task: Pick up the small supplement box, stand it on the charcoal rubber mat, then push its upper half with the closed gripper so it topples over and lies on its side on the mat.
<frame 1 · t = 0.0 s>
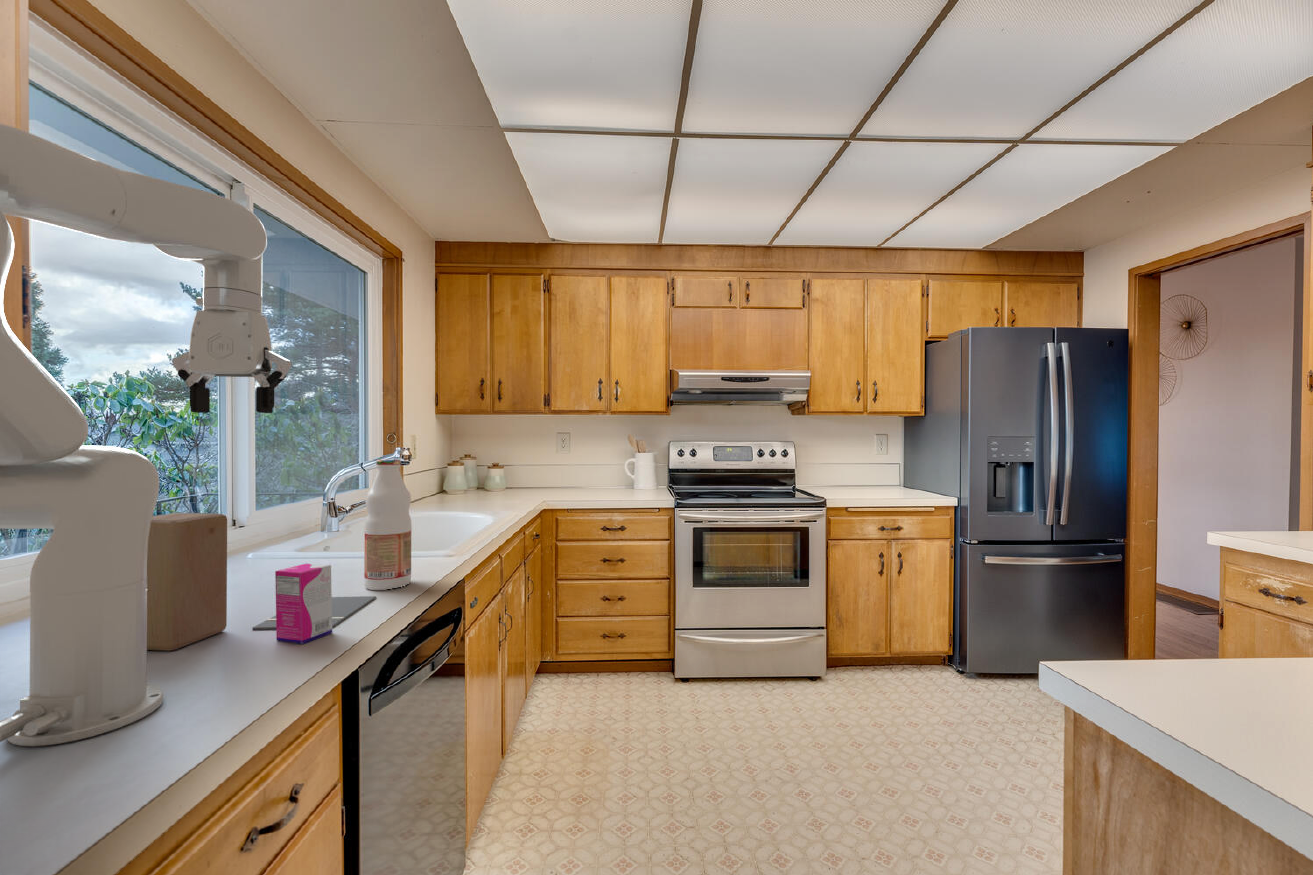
hand: (232, 412, 88), 37 cm above the countertop, tool pointing down, fingers open, 9 cm apart
fruit juice: (388, 586, 123), on the countertop
wooden block: (174, 641, 89), on the countertop
supplement box: (304, 637, 91), on the countertop
mat: (320, 612, 104), on the countertop
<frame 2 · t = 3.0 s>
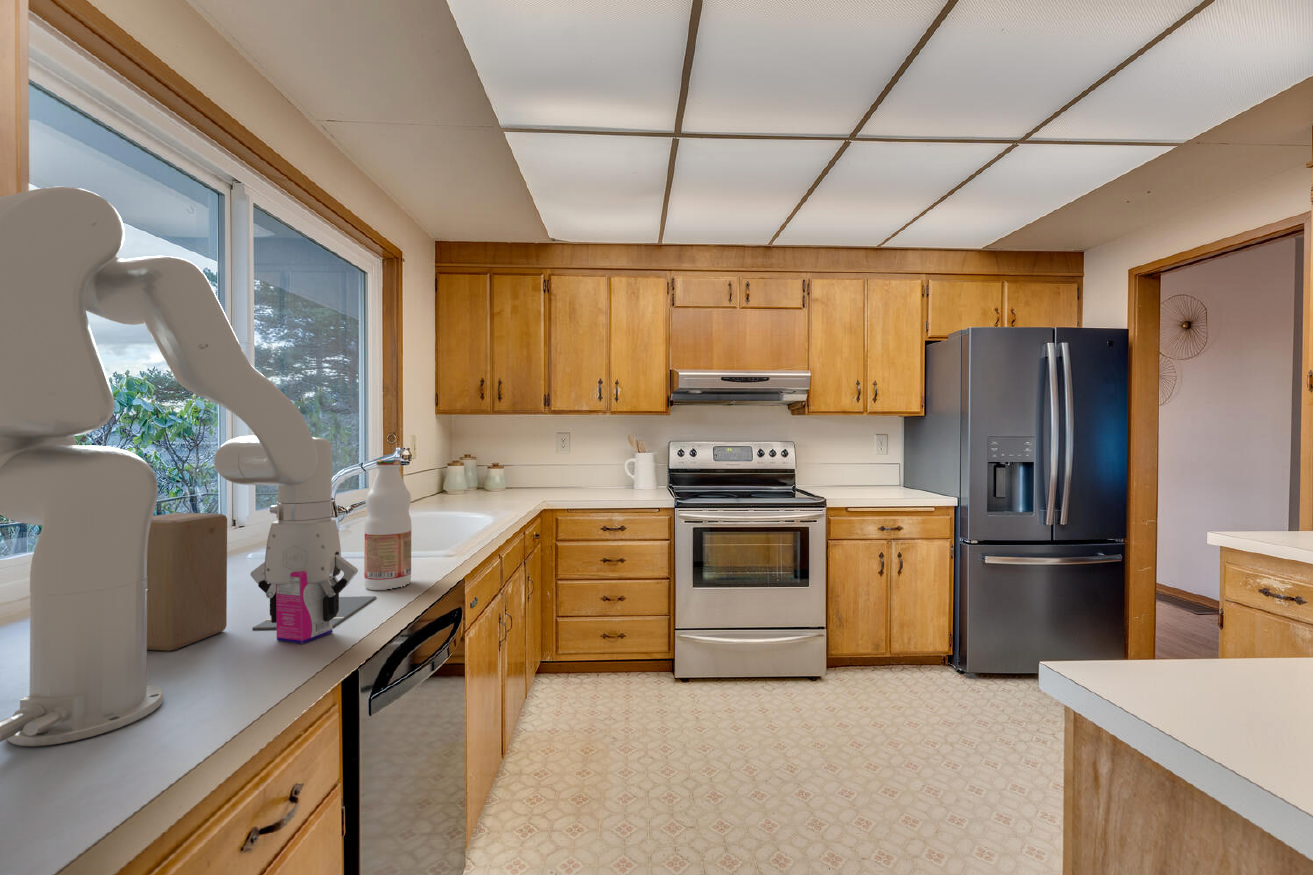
hand: (304, 618, 91), 3 cm above the countertop, tool pointing down, fingers closed on supplement box, 7 cm apart
supplement box: (304, 637, 91), on the countertop, touching gripper
everything else where it was.
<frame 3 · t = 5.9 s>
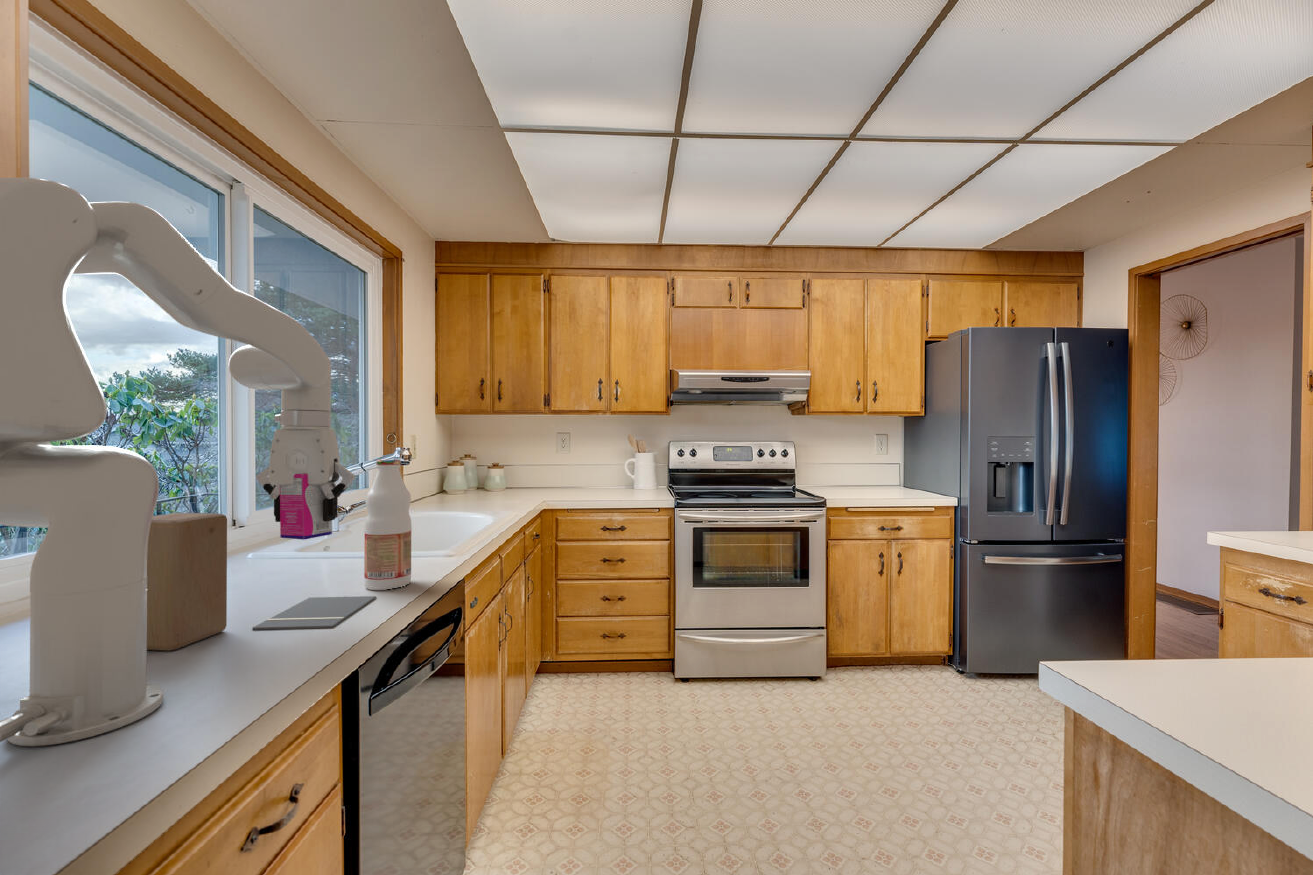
hand: (306, 519, 99), 18 cm above the countertop, tool pointing down, fingers closed on supplement box, 7 cm apart
supplement box: (306, 537, 99), point 15 cm above the countertop, touching gripper
everything else where it was.
when the fingers open (4 cm above the countertop, at t = 8.9 s): supplement box stays where it is, resting on mat.
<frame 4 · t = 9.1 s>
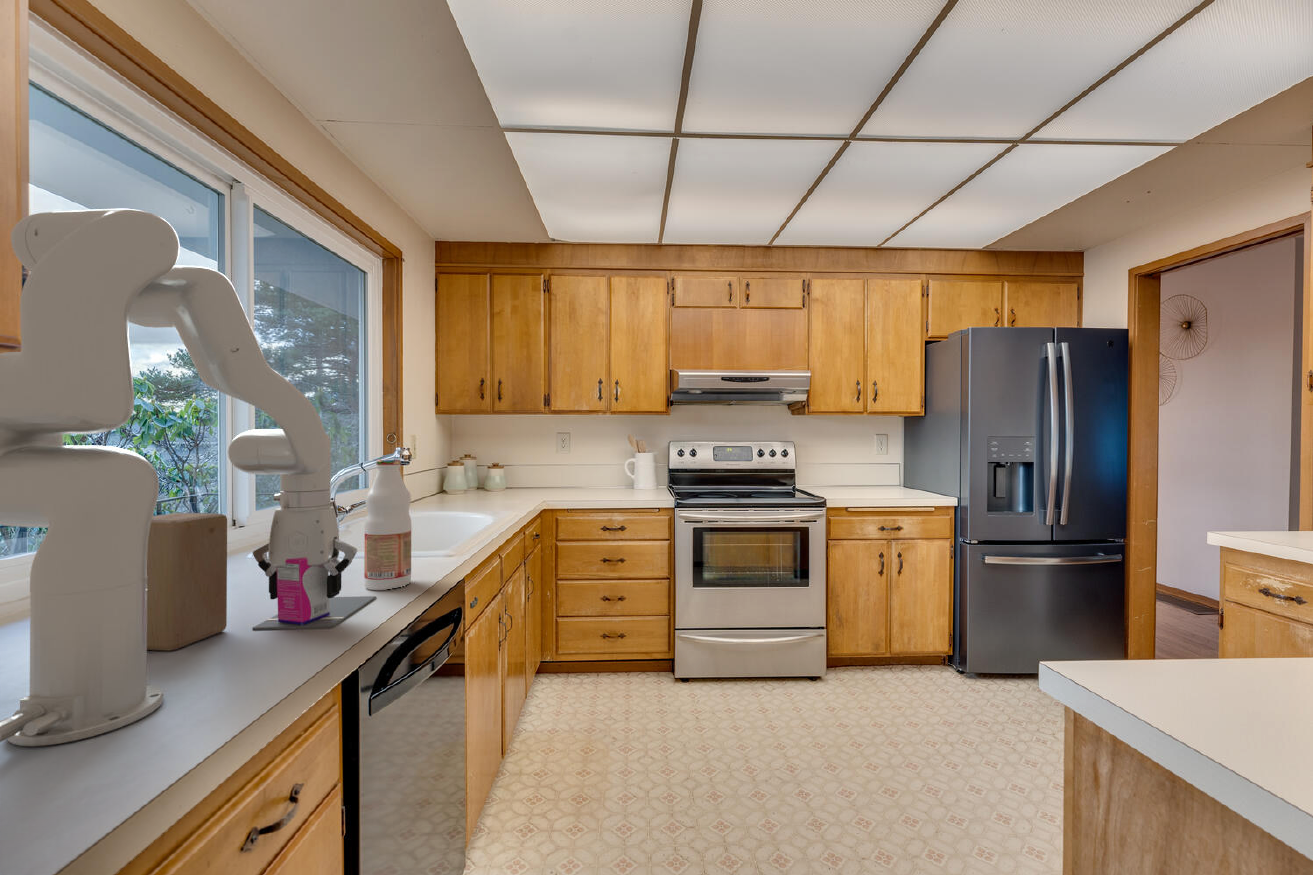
hand: (305, 596, 99), 4 cm above the countertop, tool pointing down, fingers open, 9 cm apart
supplement box: (303, 619, 98), resting on mat
everything else where it was.
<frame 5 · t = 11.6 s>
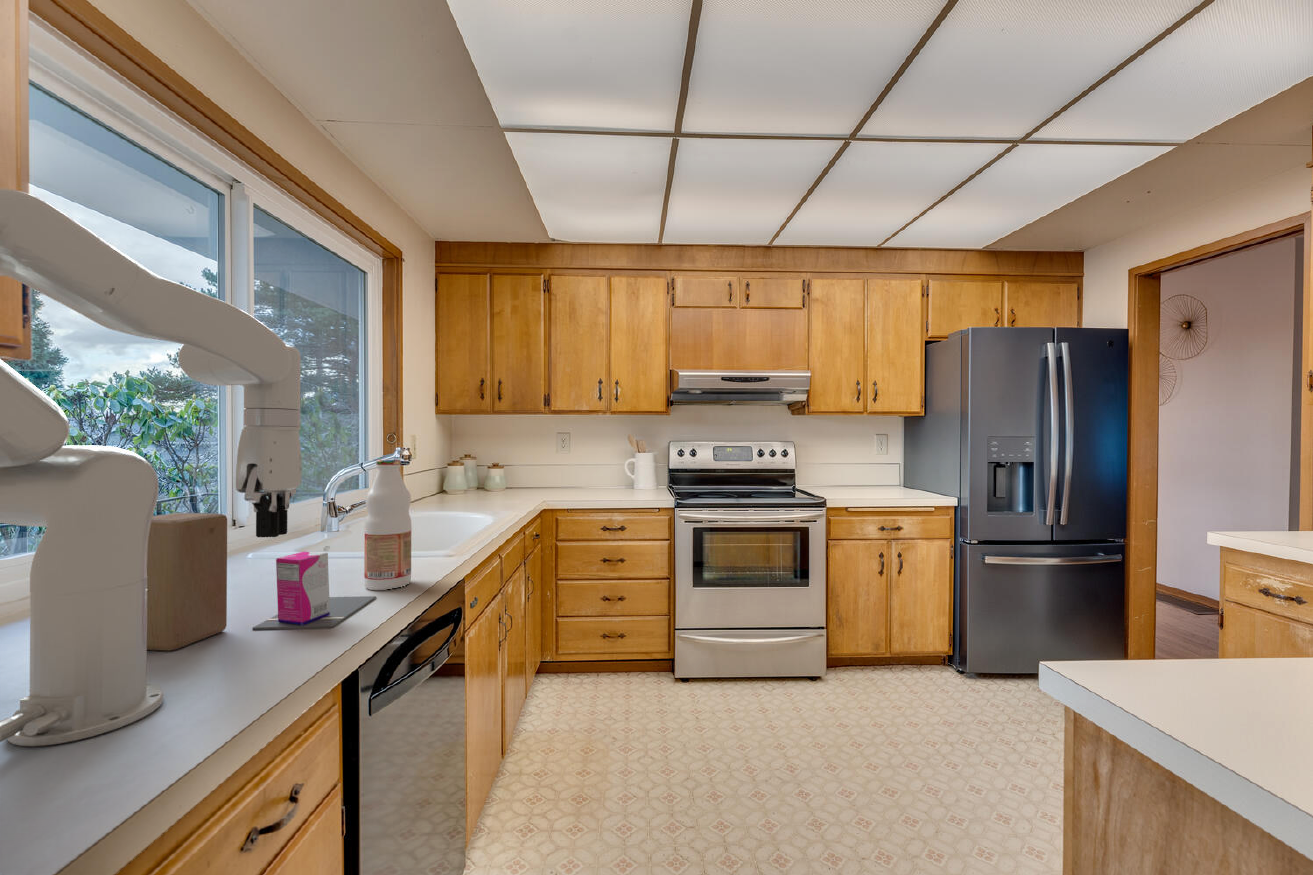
hand: (271, 534, 89), 17 cm above the countertop, tool pointing down, fingers closed
nothing on the countertop moved.
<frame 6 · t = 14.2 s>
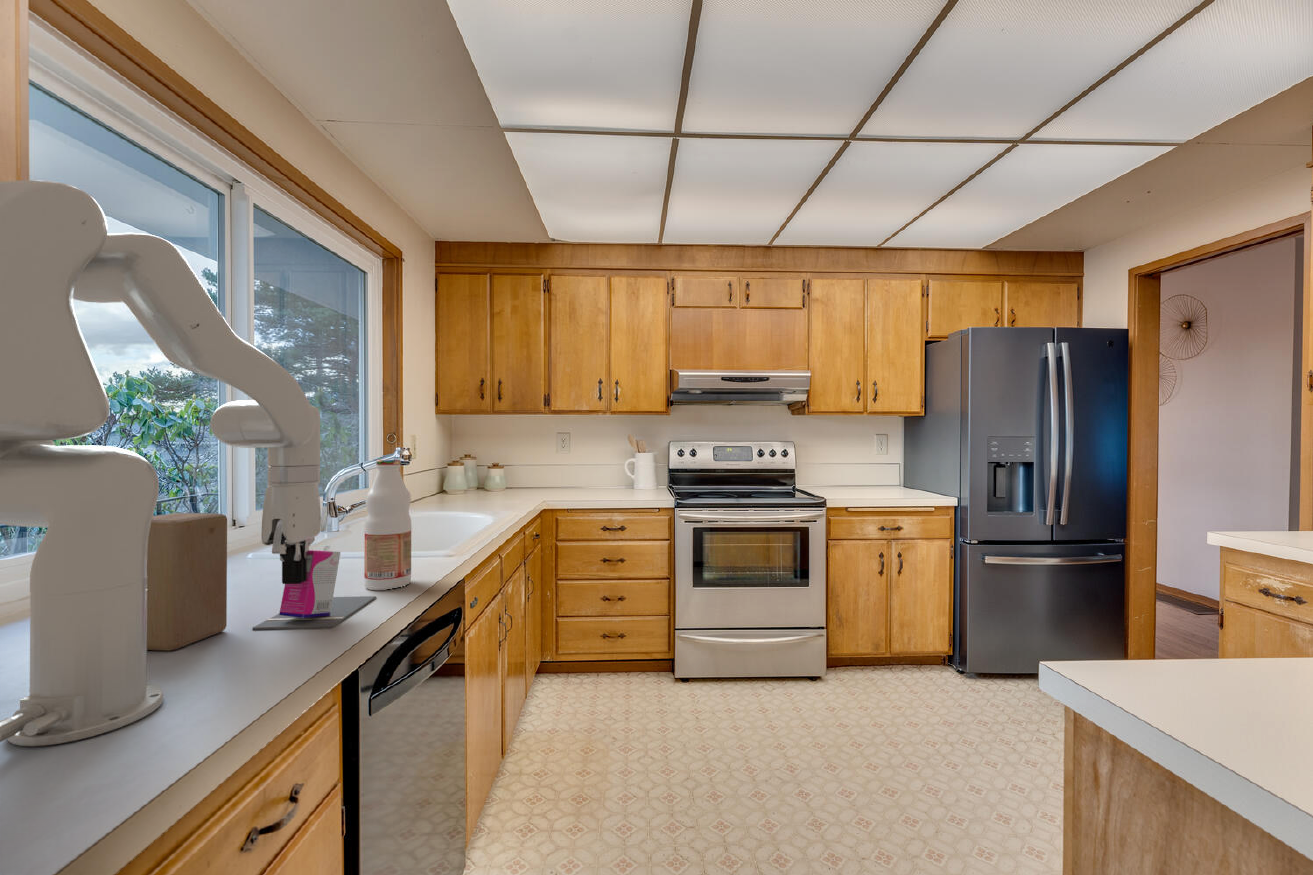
hand: (294, 582, 95), 8 cm above the countertop, tool pointing down, fingers closed
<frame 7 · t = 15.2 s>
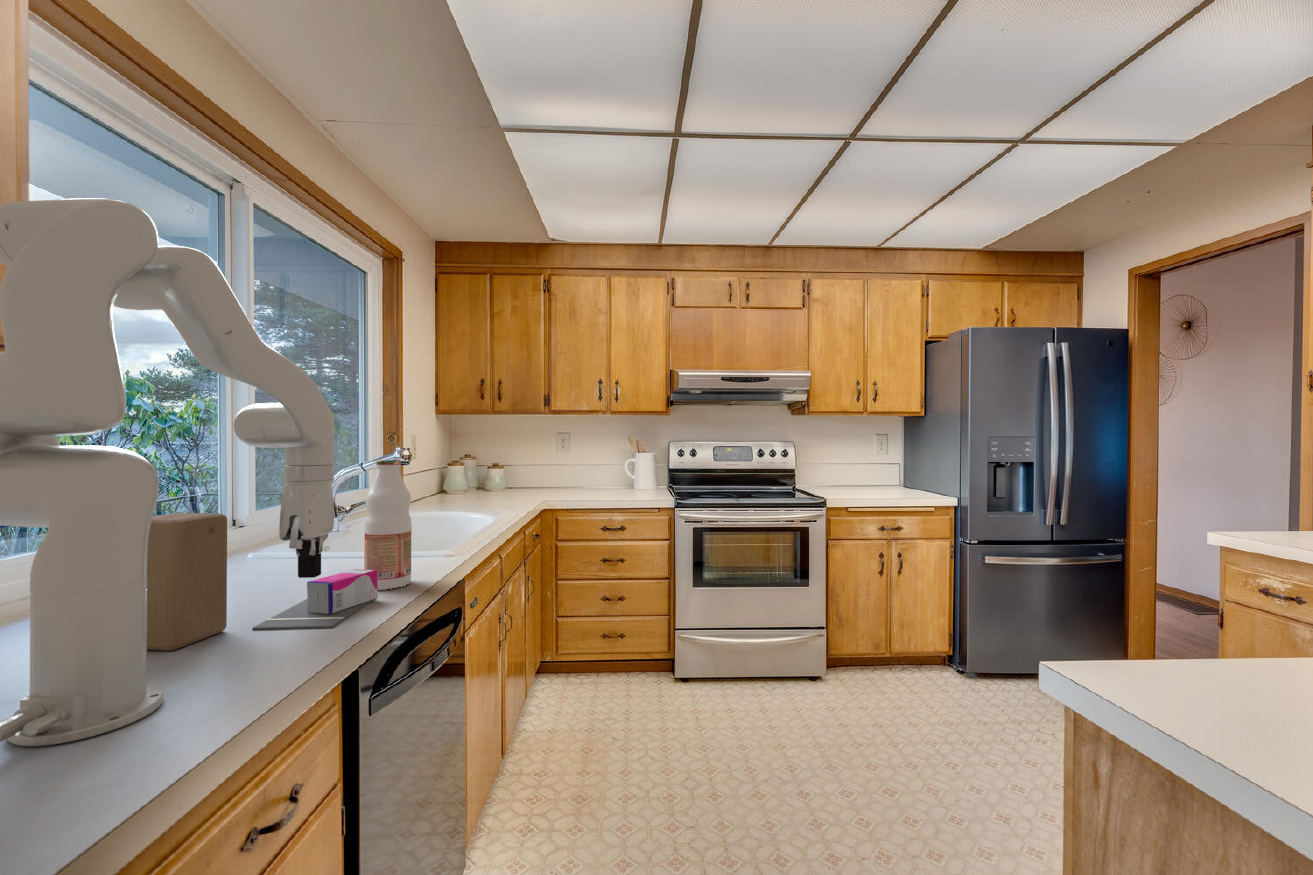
hand: (309, 576, 100), 8 cm above the countertop, tool pointing down, fingers closed
supplement box: (316, 598, 101), point 3 cm above the countertop, touching mat
everything else where it was.
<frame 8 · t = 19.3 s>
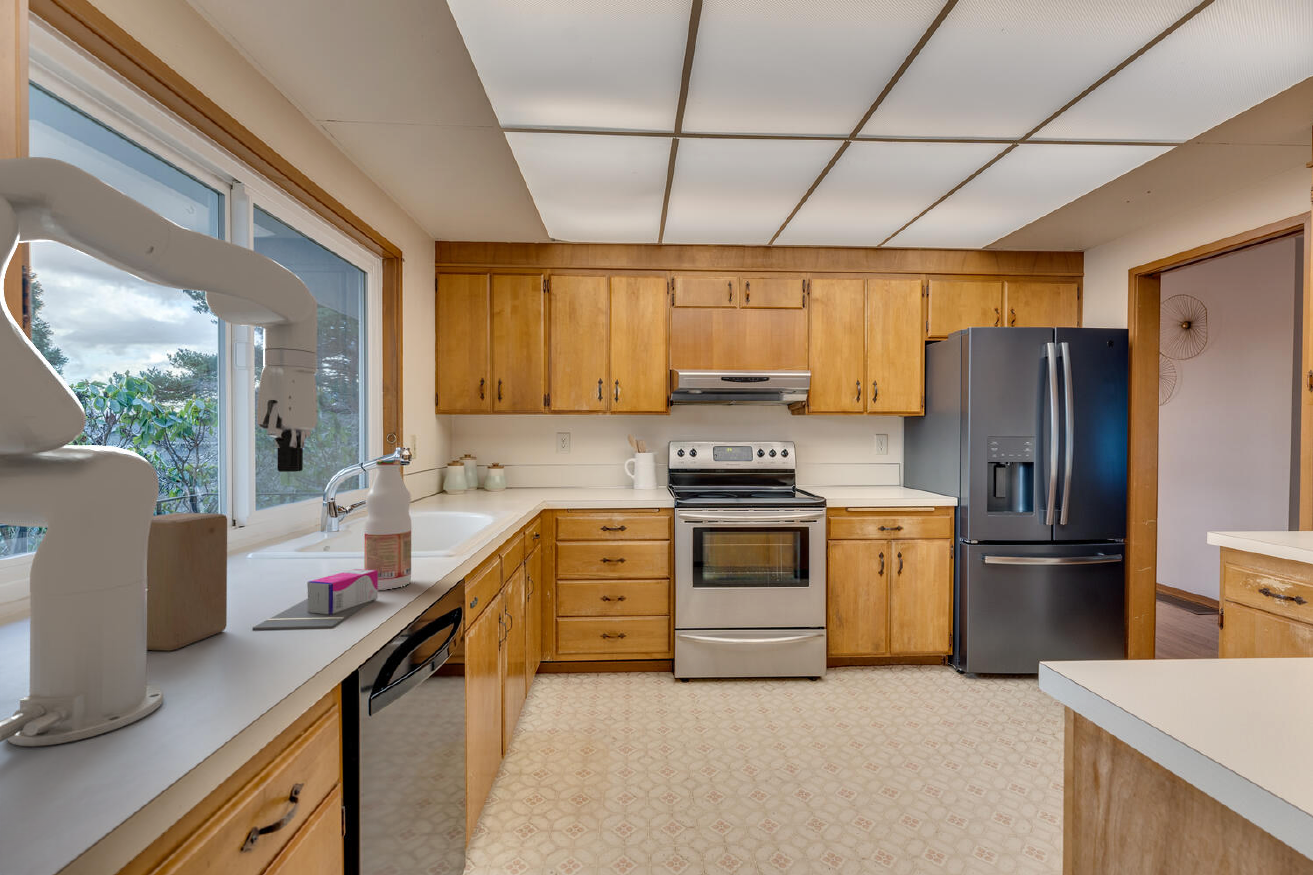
hand: (290, 471, 94), 27 cm above the countertop, tool pointing down, fingers closed
nothing on the countertop moved.
at the end: supplement box tilted 91°; supplement box inside the target area (4.9 cm from its centre), point 3.3 cm above the countertop; the gripper is holding nothing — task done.
